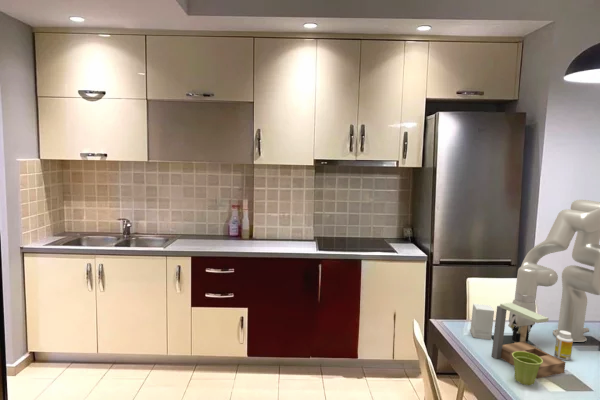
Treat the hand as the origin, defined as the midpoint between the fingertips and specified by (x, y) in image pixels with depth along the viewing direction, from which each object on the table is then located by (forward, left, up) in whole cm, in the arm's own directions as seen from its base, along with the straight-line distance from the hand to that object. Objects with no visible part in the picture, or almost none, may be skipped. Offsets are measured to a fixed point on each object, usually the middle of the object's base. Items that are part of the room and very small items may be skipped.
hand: (520, 340), depth 185 cm
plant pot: (+23, +22, -3) cm, 32 cm away
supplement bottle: (-8, +13, -2) cm, 15 cm away
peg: (0, 0, -2) cm, 2 cm away
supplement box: (+8, -13, -3) cm, 15 cm away
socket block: (+10, +13, -2) cm, 17 cm away
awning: (+16, +12, -2) cm, 21 cm away
